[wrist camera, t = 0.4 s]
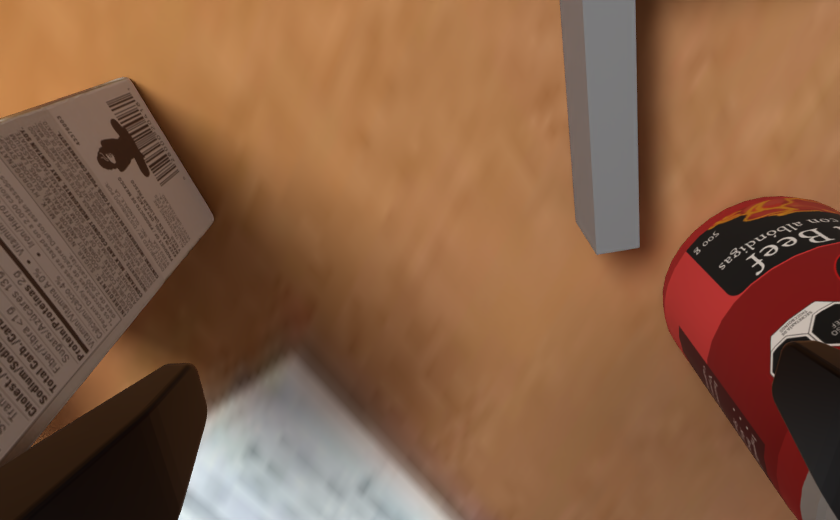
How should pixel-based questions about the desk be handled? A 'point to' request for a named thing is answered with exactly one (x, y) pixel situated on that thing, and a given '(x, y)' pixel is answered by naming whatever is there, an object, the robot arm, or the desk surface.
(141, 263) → the coffee box
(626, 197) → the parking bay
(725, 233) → the canned food
